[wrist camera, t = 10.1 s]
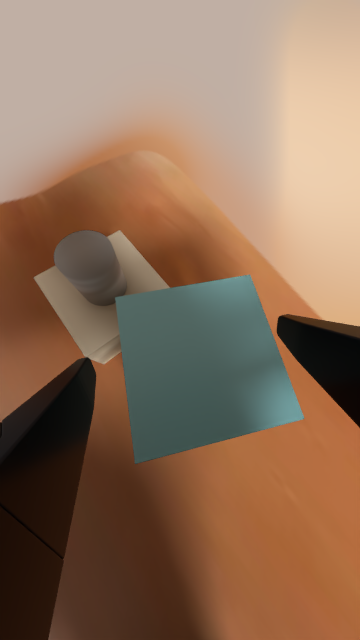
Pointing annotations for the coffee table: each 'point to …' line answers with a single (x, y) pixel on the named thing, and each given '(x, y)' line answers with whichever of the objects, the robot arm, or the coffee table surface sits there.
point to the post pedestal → (95, 287)
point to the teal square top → (200, 367)
